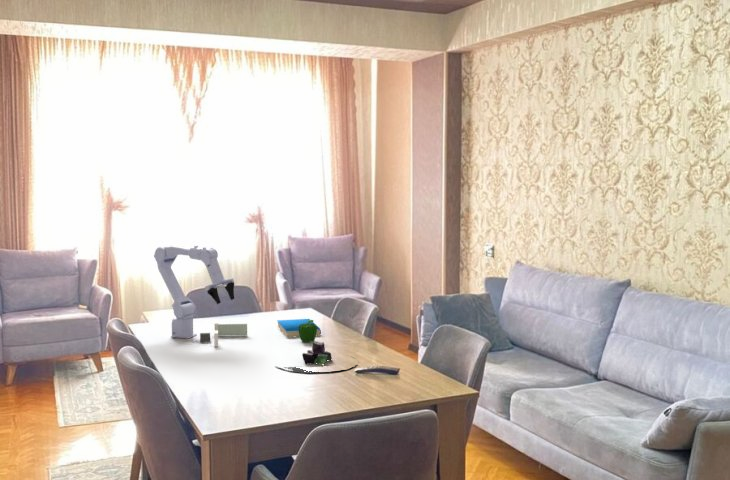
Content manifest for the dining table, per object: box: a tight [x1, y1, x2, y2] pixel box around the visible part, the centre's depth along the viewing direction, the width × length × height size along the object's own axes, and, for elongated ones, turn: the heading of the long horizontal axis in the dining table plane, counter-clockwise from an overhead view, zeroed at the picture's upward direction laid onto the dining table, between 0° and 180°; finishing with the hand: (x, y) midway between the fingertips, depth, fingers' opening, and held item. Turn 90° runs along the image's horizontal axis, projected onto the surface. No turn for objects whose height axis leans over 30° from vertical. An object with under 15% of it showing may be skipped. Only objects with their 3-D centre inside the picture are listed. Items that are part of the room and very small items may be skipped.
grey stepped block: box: [199, 332, 211, 343], centre depth 344 cm, size 8×4×4 cm, turn 11°
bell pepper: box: [299, 319, 317, 343], centre depth 342 cm, size 8×8×10 cm
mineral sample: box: [275, 342, 333, 374], centre depth 304 cm, size 35×35×9 cm
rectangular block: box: [213, 320, 219, 348], centre depth 345 cm, size 28×2×6 cm, turn 11°
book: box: [276, 318, 322, 338], centre depth 365 cm, size 17×4×25 cm
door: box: [218, 323, 248, 337], centre depth 353 cm, size 14×2×6 cm, turn 96°
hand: (226, 301), depth 340 cm, fingers open, 7 cm apart
